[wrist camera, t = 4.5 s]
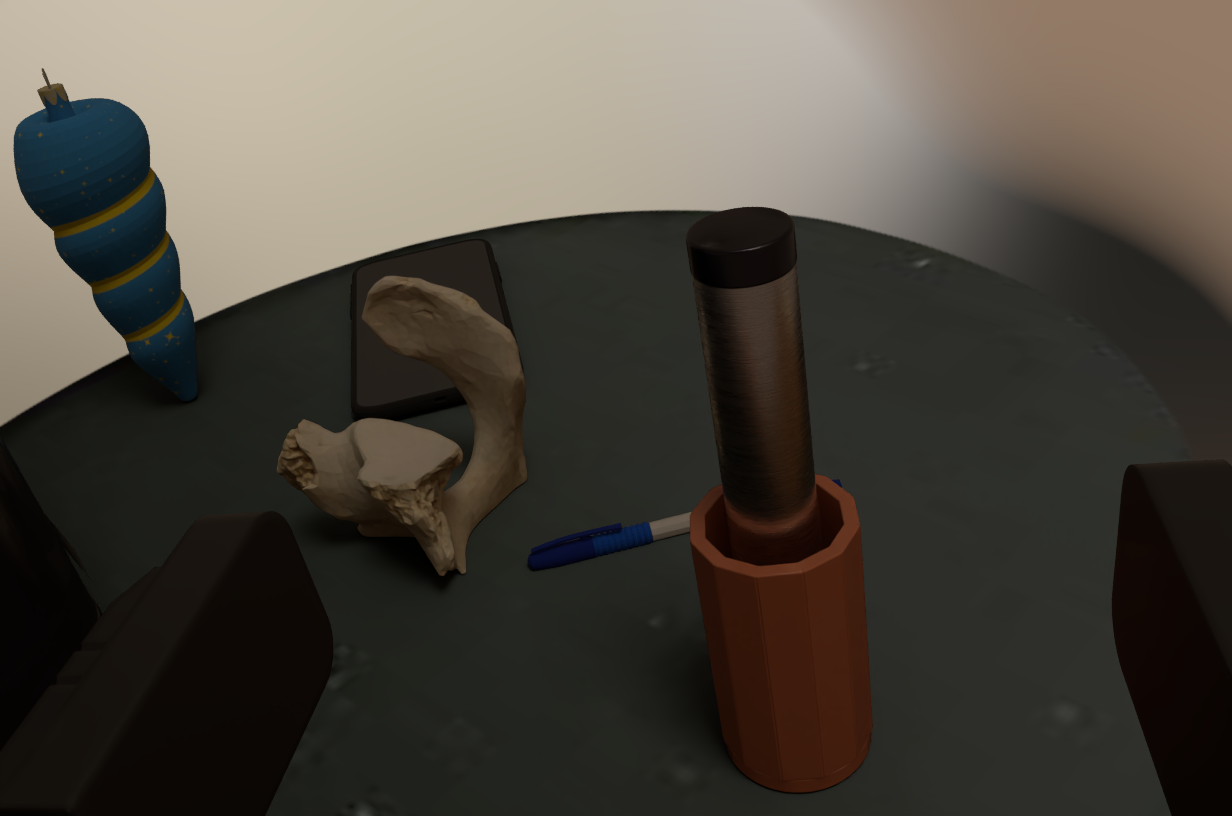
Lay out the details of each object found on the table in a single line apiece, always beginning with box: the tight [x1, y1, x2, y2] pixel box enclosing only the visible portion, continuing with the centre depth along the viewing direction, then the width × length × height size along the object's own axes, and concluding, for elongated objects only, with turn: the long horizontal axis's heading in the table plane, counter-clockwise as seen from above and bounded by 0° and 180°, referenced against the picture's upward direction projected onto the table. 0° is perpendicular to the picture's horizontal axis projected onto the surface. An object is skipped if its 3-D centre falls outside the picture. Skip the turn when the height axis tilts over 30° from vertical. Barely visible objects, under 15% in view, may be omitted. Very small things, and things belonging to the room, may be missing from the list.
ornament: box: [14, 68, 198, 401], centre depth 45 cm, size 5×5×15 cm
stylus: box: [686, 207, 821, 566], centre depth 24 cm, size 2×2×14 cm
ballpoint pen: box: [528, 479, 842, 571], centre depth 35 cm, size 10×1×1 cm, turn 102°
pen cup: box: [690, 474, 873, 793], centre depth 26 cm, size 4×4×7 cm
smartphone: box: [350, 239, 523, 420], centre depth 50 cm, size 7×1×15 cm
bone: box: [276, 276, 527, 576], centre depth 36 cm, size 9×6×10 cm
